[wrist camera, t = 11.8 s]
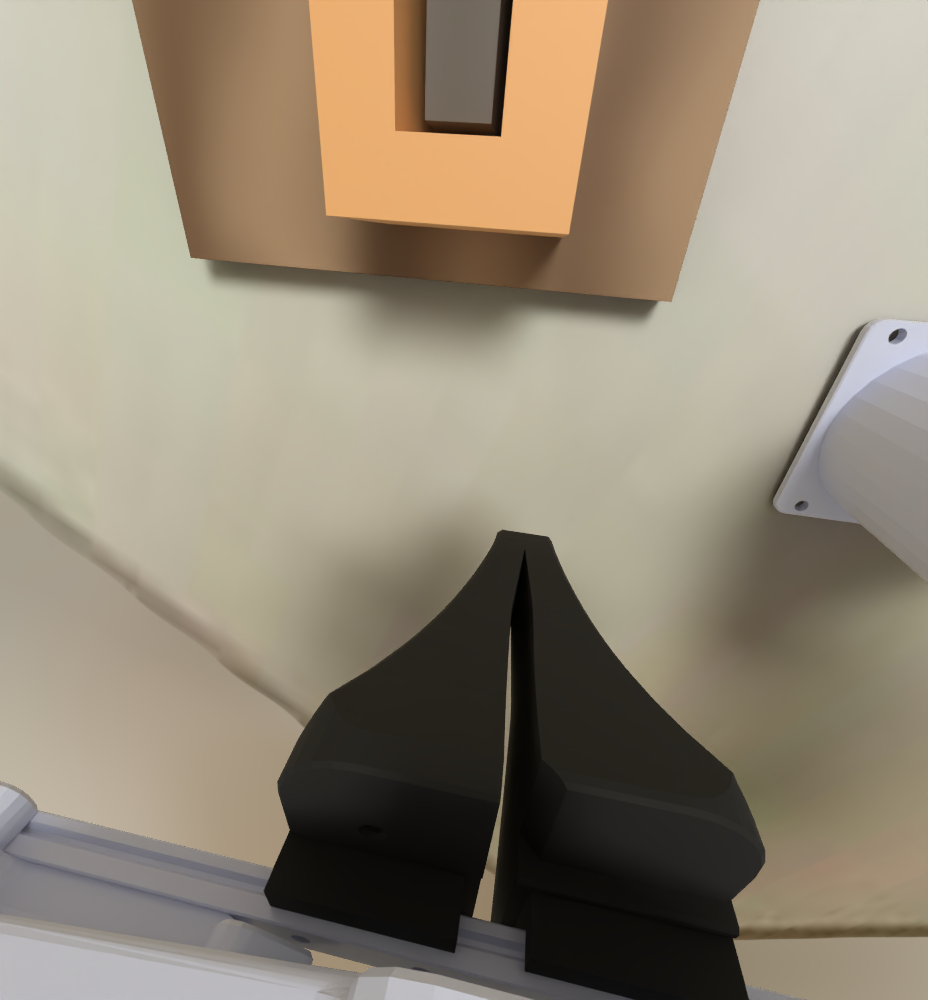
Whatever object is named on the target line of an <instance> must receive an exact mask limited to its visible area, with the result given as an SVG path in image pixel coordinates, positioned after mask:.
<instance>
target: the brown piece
mask: <svg viewBox="0 0 928 1000" xmlns="http://www.w3.org/2000/svg"><path fill="white" fill-rule="evenodd" d="M759 1H760V0H608V3H607V9H606V15H605V21H604V27H603V33H602V39H601V45H600V51H599V57H598V63H597V69H596V75H595V81H594V87H593V93H592V99H591V105H590V111H589V117H588V123H587V129H586V135H585V141H584V147H583V153H582V159H581V165H580V171H579V177H578V183H577V189H576V195H575V201H574V207H573V213H572V219H571V224H570V230H569V234H568V235H566V236H564V237H562V238H559V237H546V236H534V235H521V234H508V233H496V232H483V231H470V230H458V229H445V228H432V227H420V226H407V225H394V224H385V223H377V222H370V221H363V220H356V219H349V218H342V217H334V216H327V215H326V206H325V194H324V181H323V169H322V157H321V145H320V132H319V120H318V108H317V96H316V83H315V71H314V59H313V47H312V34H311V22H310V10H309V0H132V2H133V6H134V11H135V15H136V20H137V24H138V28H139V33H140V37H141V42H142V46H143V50H144V55H145V59H146V63H147V68H148V72H149V77H150V81H151V85H152V90H153V94H154V98H155V103H156V107H157V112H158V116H159V120H160V125H161V129H162V133H163V138H164V142H165V147H166V151H167V155H168V160H169V164H170V169H171V173H172V177H173V182H174V186H175V190H176V195H177V199H178V204H179V208H180V212H181V217H182V221H183V225H184V230H185V234H186V239H187V243H188V247H189V252H190V256H191V258H199V259H210V260H221V261H232V262H243V263H254V264H265V265H276V266H287V267H297V268H308V269H319V270H330V271H341V272H352V273H363V274H374V275H385V276H395V277H406V278H417V279H428V280H439V281H450V282H461V283H472V284H483V285H493V286H504V287H515V288H526V289H537V290H548V291H559V292H570V293H581V294H591V295H602V296H613V297H624V298H635V299H646V300H657V301H668V302H671V301H672V298H673V295H674V291H675V288H676V284H677V281H678V278H679V274H680V271H681V267H682V264H683V260H684V257H685V254H686V250H687V247H688V243H689V240H690V237H691V233H692V230H693V226H694V223H695V220H696V216H697V213H698V209H699V206H700V202H701V199H702V196H703V192H704V189H705V185H706V182H707V179H708V175H709V172H710V168H711V165H712V162H713V158H714V155H715V151H716V148H717V145H718V141H719V138H720V134H721V131H722V127H723V124H724V121H725V117H726V114H727V110H728V107H729V104H730V100H731V97H732V93H733V90H734V87H735V83H736V80H737V76H738V73H739V69H740V66H741V63H742V59H743V56H744V52H745V49H746V46H747V42H748V39H749V35H750V32H751V29H752V25H753V22H754V18H755V15H756V12H757V8H758V5H759ZM512 8H513V0H427V23H426V84H425V121H426V122H427V123H428V124H429V125H430V126H431V127H432V128H433V129H434V130H435V131H436V132H437V133H443V134H461V135H479V136H497V137H501V132H502V121H503V110H504V98H505V87H506V76H507V64H508V53H509V42H510V30H511V19H512Z"/></svg>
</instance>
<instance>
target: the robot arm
mask: <svg viewBox="0 0 928 1000" xmlns="http://www.w3.org/2000/svg"><path fill="white" fill-rule="evenodd" d="M896 329H899V334H898V336H897V337H896V338H895V339H894V340H892V341H890V342H889V341H888V338H889V335H890V334H891V333H892V332H893V331H895V330H896ZM800 501H804V502H803V503H802V504H801V505H799V506H795V505H796V504H797V503H798V502H800ZM773 506H774V507H775V508H776V509H777V510H778V511H779V512H781V513H785V514H792V515H799V516H806V517H814V518H821V519H828V520H836V521H843V522H850V523H857V524H861V525H862V526H863V527H864V528H866V529H867V530H868V531H869V532H870V533H871V534H872V535H873V536H875V537H876V538H877V539H878V540H879V541H880V542H881V543H883V544H884V545H885V546H886V547H887V548H888V549H889V550H890V551H892V552H893V553H894V554H895V555H896V556H897V557H898V558H900V559H901V560H902V561H903V562H904V563H905V564H906V565H907V566H909V567H910V568H911V569H912V570H913V571H914V572H915V573H916V574H918V575H919V576H920V577H921V578H922V579H923V580H924V581H926V582H927V583H928V322H920V321H909V320H898V319H887V318H880V319H875V320H873V321H871V322H869V323H868V324H867V325H865V326H864V328H863V329H862V330H861V332H860V334H859V335H858V337H857V339H856V341H855V343H854V345H853V347H852V349H851V351H850V353H849V355H848V357H847V359H846V360H845V362H844V364H843V366H842V368H841V370H840V372H839V374H838V376H837V378H836V380H835V382H834V384H833V385H832V387H831V389H830V391H829V393H828V395H827V397H826V399H825V401H824V403H823V405H822V407H821V409H820V410H819V412H818V414H817V416H816V418H815V420H814V422H813V424H812V426H811V428H810V430H809V432H808V434H807V435H806V437H805V439H804V441H803V443H802V445H801V447H800V449H799V451H798V453H797V455H796V457H795V458H794V460H793V462H792V464H791V466H790V468H789V470H788V472H787V474H786V476H785V478H784V480H783V482H782V483H781V485H780V487H779V489H778V491H777V493H776V495H775V497H774V499H773ZM510 628H511V720H510V732H509V743H508V754H507V765H506V775H505V786H504V796H503V806H502V816H501V827H500V837H499V847H498V857H497V866H496V876H495V885H494V895H493V905H492V914H491V922H489V921H485V920H481V919H477V918H473V917H472V916H473V912H474V907H475V903H476V899H477V894H478V889H479V885H480V881H481V878H483V874H484V869H485V865H486V861H487V857H488V852H489V848H490V844H491V839H492V835H493V831H494V826H495V822H496V818H497V813H498V809H499V805H500V798H501V788H502V776H503V763H504V736H505V709H506V687H507V668H508V651H509V636H510ZM278 793H279V796H280V800H281V803H282V806H283V809H284V813H285V816H286V819H287V822H288V825H289V829H290V831H289V833H288V836H287V838H286V841H285V843H284V845H283V847H282V849H281V852H280V854H279V856H278V859H277V861H276V863H275V865H274V868H270V867H266V866H262V865H258V864H254V863H250V862H246V861H242V860H238V859H234V858H229V857H226V856H222V855H217V854H213V853H209V852H205V851H201V850H197V849H193V848H189V847H185V846H181V845H177V844H172V843H169V842H165V841H161V840H157V839H153V838H148V837H144V836H140V835H136V834H132V833H128V832H124V831H120V830H116V829H112V828H108V827H104V826H100V825H96V824H92V823H87V822H84V821H80V820H75V819H71V818H67V817H63V816H59V815H55V814H51V813H47V812H43V811H38V810H37V805H36V804H35V802H34V801H33V800H32V799H31V798H30V797H29V796H28V795H27V794H26V793H25V792H23V791H22V790H21V789H19V788H17V787H15V786H13V785H10V784H7V783H4V782H1V781H0V1000H805V999H801V998H797V997H793V996H789V995H785V994H781V993H777V992H773V991H769V990H765V989H761V988H757V987H752V986H748V985H745V983H744V979H743V975H742V971H741V968H740V964H739V960H738V956H737V953H736V949H735V945H734V942H733V938H737V937H738V936H739V925H738V922H737V918H736V915H735V911H734V908H733V904H732V901H731V900H732V899H733V898H734V897H735V896H736V895H737V894H738V893H739V892H740V891H741V890H743V889H744V888H745V887H746V886H747V885H748V884H749V883H750V882H751V881H752V880H753V879H754V878H755V877H756V876H757V874H758V873H759V871H760V870H761V868H762V866H763V865H764V863H765V849H764V846H763V843H762V841H761V838H760V835H759V832H758V830H757V827H756V824H755V821H754V819H753V816H752V814H751V811H750V809H749V807H748V804H747V802H746V800H745V798H744V796H743V794H742V792H741V790H740V788H739V786H738V784H737V781H736V779H735V777H734V774H733V773H732V772H731V771H730V770H729V769H728V768H727V767H726V766H724V765H723V764H722V763H721V762H720V761H719V760H718V759H716V758H715V757H714V756H713V755H712V754H711V753H710V752H709V751H707V750H706V749H705V748H704V747H703V746H702V745H701V744H700V743H698V742H697V741H696V740H695V739H694V738H693V737H692V736H690V735H689V734H688V733H687V732H686V731H685V730H684V729H683V728H682V727H681V726H680V725H679V724H678V723H677V722H676V721H675V720H674V719H673V718H672V717H671V716H670V715H669V714H668V713H667V712H666V711H665V710H664V709H663V708H662V707H660V706H659V705H658V704H657V703H656V701H655V700H654V699H653V698H652V697H651V696H650V695H649V694H648V693H647V692H646V690H645V689H644V688H643V687H642V686H641V685H640V684H639V683H638V682H637V680H636V679H635V678H634V677H633V676H632V675H631V674H630V673H629V671H628V670H627V669H626V668H625V667H624V665H623V664H622V663H621V662H620V660H619V659H618V658H617V657H616V655H615V654H614V653H613V651H612V650H611V649H610V647H609V646H608V645H607V643H606V642H605V641H604V639H603V638H602V636H601V635H600V634H599V632H598V631H597V629H596V628H595V626H594V625H593V623H592V622H591V620H590V618H589V617H588V615H587V613H586V612H585V610H584V609H583V607H582V605H581V603H580V602H579V600H578V598H577V596H576V595H575V593H574V591H573V589H572V587H571V585H570V583H569V581H568V579H567V577H566V575H565V573H564V571H563V569H562V567H561V565H560V562H559V560H558V558H557V555H556V553H555V550H554V547H553V544H552V541H551V540H550V538H549V537H546V536H540V535H533V534H526V533H520V532H513V531H507V530H501V531H500V532H498V533H497V536H496V539H495V541H494V543H493V545H492V547H491V549H490V551H489V552H488V554H487V556H486V557H485V559H484V560H483V562H482V563H481V565H480V566H479V568H478V569H477V570H476V572H475V573H474V575H473V576H472V577H471V579H470V580H469V581H468V582H467V583H466V585H465V586H464V587H463V588H462V590H461V591H460V592H459V593H458V594H457V596H456V597H455V598H454V599H453V600H452V601H451V602H450V603H449V604H448V605H447V606H446V608H445V609H444V610H443V611H442V612H441V613H440V614H439V615H437V616H436V617H435V618H434V619H433V620H432V621H431V622H430V623H429V624H428V625H427V626H426V627H424V628H423V629H422V630H421V631H420V632H419V633H418V634H417V635H415V636H414V637H413V638H412V639H410V640H409V641H408V642H407V643H405V644H404V645H403V646H401V647H400V648H399V649H397V650H396V651H395V652H393V653H392V654H390V655H389V656H388V657H386V658H385V659H384V660H382V661H381V662H379V663H378V664H377V665H375V666H374V667H372V668H371V669H369V670H368V671H366V672H364V673H363V674H361V675H359V676H358V677H356V678H354V679H353V680H351V681H350V682H348V683H346V684H345V685H343V686H341V687H340V688H338V689H336V690H335V691H333V692H331V693H330V694H329V695H328V696H327V697H326V698H325V700H324V701H323V702H322V704H321V705H320V707H319V708H318V709H317V711H316V712H315V714H314V715H313V717H312V718H311V720H310V721H309V723H308V724H307V726H306V727H305V729H304V730H303V732H302V734H301V735H300V737H299V739H298V741H297V743H296V745H295V747H294V749H293V751H292V753H291V755H290V757H289V759H288V761H287V763H286V765H285V767H284V769H283V771H282V773H281V775H280V777H279V780H278ZM302 947H303V948H302ZM304 948H307V949H310V950H314V951H318V952H322V953H326V954H329V955H333V956H337V957H341V958H344V959H348V960H352V961H356V962H360V963H363V964H367V965H371V966H375V967H376V968H369V969H368V970H366V971H365V972H364V973H357V972H351V971H345V970H338V969H333V968H327V967H320V966H314V965H311V964H312V961H313V958H312V955H311V952H310V951H309V950H306V949H304Z"/></svg>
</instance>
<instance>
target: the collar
mask: <svg viewBox="0 0 928 1000" xmlns="http://www.w3.org/2000/svg"><path fill="white" fill-rule="evenodd" d="M607 3H608V0H513V8H512V19H511V30H510V42H509V53H508V64H507V76H506V87H505V98H504V110H503V121H502V132H501V137H497V136H479V135H461V134H443V133H437V132H436V131H435V130H434V129H433V128H432V127H431V126H430V125H429V124H428V123H427V122H426V121H425V84H426V23H427V0H309V10H310V22H311V34H312V47H313V59H314V71H315V83H316V96H317V108H318V120H319V132H320V145H321V157H322V169H323V181H324V194H325V206H326V215H327V216H334V217H342V218H349V219H356V220H363V221H370V222H377V223H385V224H394V225H407V226H420V227H432V228H445V229H458V230H470V231H483V232H496V233H508V234H521V235H534V236H546V237H559V238H562V237H564V236H566V235H568V234H569V230H570V224H571V219H572V213H573V207H574V201H575V195H576V189H577V183H578V177H579V171H580V165H581V159H582V153H583V147H584V141H585V135H586V129H587V123H588V117H589V111H590V105H591V99H592V93H593V87H594V81H595V75H596V69H597V63H598V57H599V51H600V45H601V39H602V33H603V27H604V21H605V15H606V9H607Z"/></svg>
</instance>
